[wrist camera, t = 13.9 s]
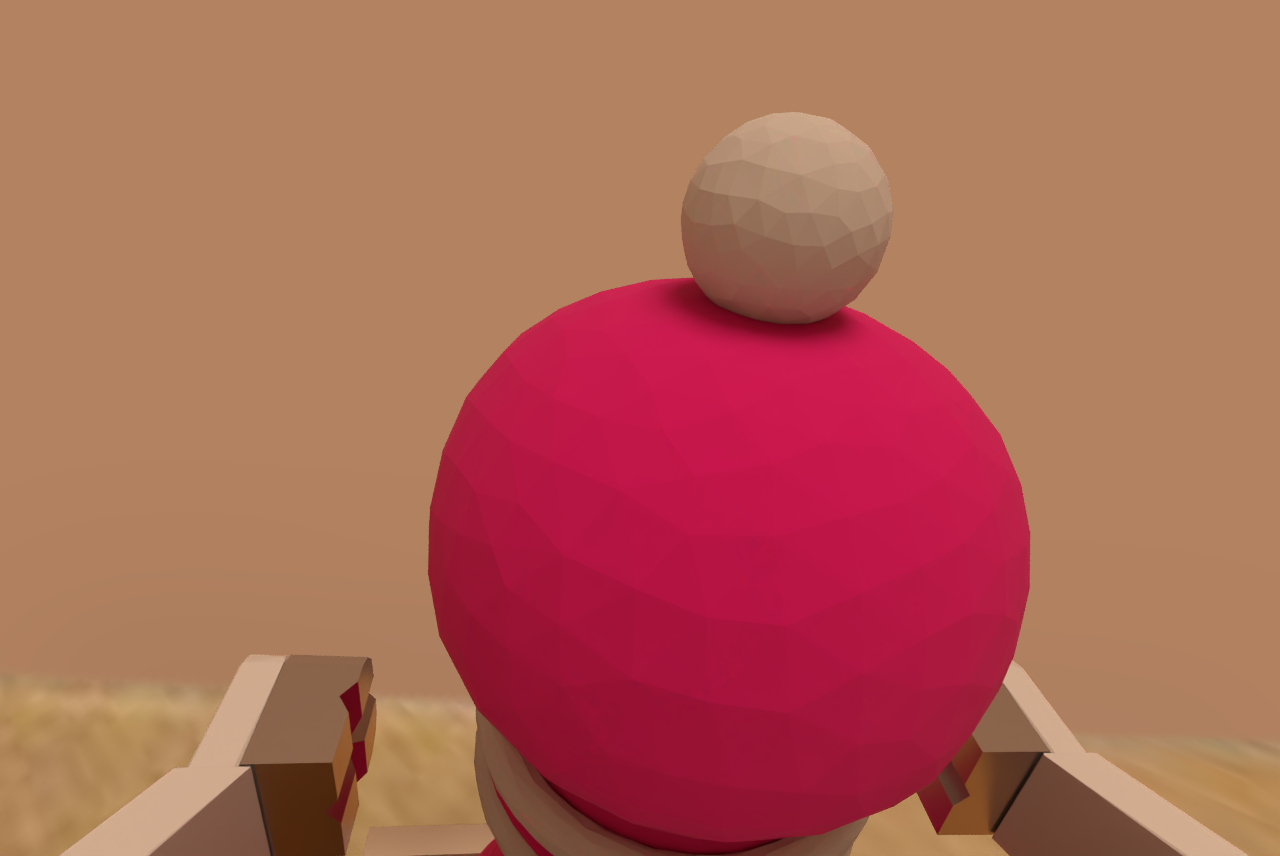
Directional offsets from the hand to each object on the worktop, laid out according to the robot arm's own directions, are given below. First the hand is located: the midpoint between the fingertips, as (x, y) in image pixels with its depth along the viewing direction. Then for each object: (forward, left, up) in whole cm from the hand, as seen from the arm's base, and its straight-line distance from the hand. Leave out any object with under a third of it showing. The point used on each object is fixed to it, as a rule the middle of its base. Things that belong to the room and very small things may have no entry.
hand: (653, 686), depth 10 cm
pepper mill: (-1, 0, -12) cm, 12 cm away
